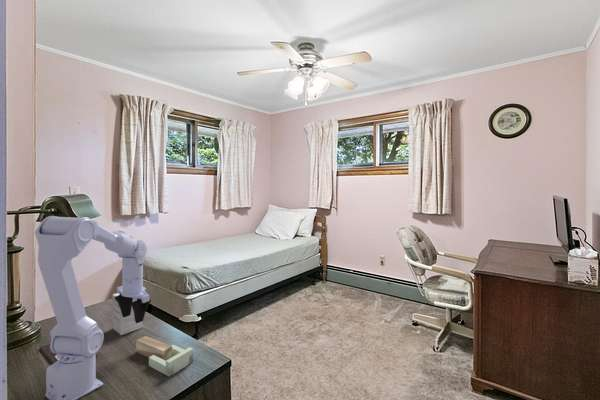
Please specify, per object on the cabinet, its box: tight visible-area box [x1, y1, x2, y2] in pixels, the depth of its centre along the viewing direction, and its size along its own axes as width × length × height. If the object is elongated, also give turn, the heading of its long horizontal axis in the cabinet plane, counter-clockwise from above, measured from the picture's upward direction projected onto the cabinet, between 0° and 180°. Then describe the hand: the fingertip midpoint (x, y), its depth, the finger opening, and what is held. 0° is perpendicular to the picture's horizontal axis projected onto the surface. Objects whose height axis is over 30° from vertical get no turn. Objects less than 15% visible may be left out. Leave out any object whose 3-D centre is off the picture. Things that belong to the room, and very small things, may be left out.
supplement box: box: [112, 292, 144, 336], centre depth 105 cm, size 7×7×13 cm
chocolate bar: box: [39, 343, 98, 365], centre depth 90 cm, size 9×1×18 cm
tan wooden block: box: [135, 335, 173, 361], centre depth 90 cm, size 3×12×4 cm, turn 64°
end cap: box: [148, 344, 194, 377], centre depth 86 cm, size 8×9×4 cm
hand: (132, 319), depth 95 cm, fingers open, 6 cm apart
